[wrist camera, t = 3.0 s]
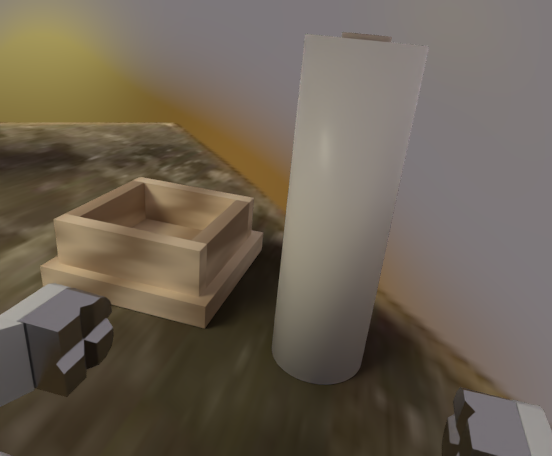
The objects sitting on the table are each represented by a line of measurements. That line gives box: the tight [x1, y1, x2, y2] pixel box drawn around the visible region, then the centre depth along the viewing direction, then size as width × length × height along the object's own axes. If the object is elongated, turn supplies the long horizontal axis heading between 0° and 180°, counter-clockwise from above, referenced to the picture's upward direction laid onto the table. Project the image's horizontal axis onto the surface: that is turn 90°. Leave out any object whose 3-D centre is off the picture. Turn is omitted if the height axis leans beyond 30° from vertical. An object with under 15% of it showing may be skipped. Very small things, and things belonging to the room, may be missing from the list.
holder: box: [40, 177, 263, 329], centre depth 31 cm, size 11×11×4 cm
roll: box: [272, 32, 429, 385], centre depth 21 cm, size 5×5×16 cm
